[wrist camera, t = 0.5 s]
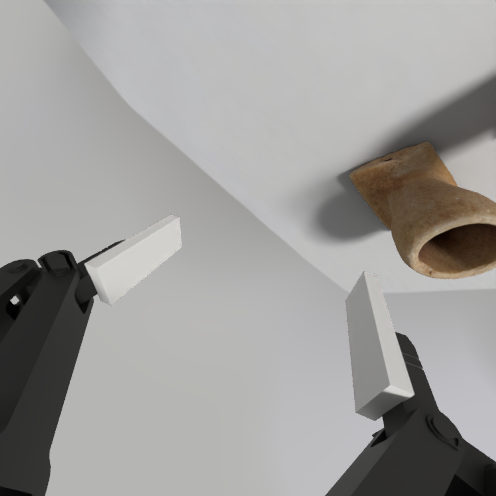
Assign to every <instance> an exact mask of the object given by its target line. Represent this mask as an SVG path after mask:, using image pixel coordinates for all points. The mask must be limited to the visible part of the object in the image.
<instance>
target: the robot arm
mask: <svg viewBox="0 0 496 496" xmlns="http://www.w3.org/2000/svg"><path fill="white" fill-rule="evenodd" d="M181 247H182V242H181V229H180V218H179V217H178V216H175V215H169V216H167V217H165V218H164V219H162V220H160V221H158V222H157V223H155V224H153V225H151V226H150V227H148V228H146V229H144V230H143V231H141V232H139V233H137V234H136V235H134V236H132V237H130V238H129V239H127V240H122V241H119V242H116V243H114V244H112V245H110V246H108V248H105V249H103V250H102V251H100V252H98V253H96V254H94V255H92V256H90V257H88V258H87V259H85V260H83V261H81V262H79V263H78V264H77V263H76V261H75V259H74V256H73V255H72V253H71V252H70V251H66V250H58V251H53V252H50V253H47V254H45V255H43V256H41V257H40V258H39V259H38V262H39V263H40V265H41V267H42V268H39V267H38V265H37V264H36V262H35V261H34V260H30V259H24V260H18V261H13V262H11V263H8V264H7V265H5V266H3V267H1V268H0V496H45V493H46V490H47V486H48V482H49V477H50V468H51V466H50V459H49V452H50V448H51V444H52V441H53V437H54V434H55V431H56V427H57V424H58V421H59V417H60V414H61V410H62V407H63V404H64V400H65V397H66V393H67V390H68V386H69V384H70V380H71V377H72V373H73V370H74V367H75V363H76V360H77V357H78V353H79V349H80V346H81V343H82V340H83V336H84V333H85V330H86V326H87V323H88V320H89V316H90V313H91V309H92V306H93V303H94V299H93V296H95V295H96V294H98V296H99V298H100V300H101V301H102V302H105V303H107V304H109V305H113V304H114V303H115V302H116V301H117V300H119V298H121V297H122V296H123V295H125V294H126V293H127V292H128V291H129V290H131V289H132V288H133V287H134V286H135V285H137V284H138V283H139V282H140V281H142V280H143V279H144V278H145V277H146V276H148V275H149V274H150V273H151V272H152V271H154V270H155V269H156V268H157V267H158V266H160V265H161V264H162V263H163V262H164V261H166V260H167V259H168V258H169V257H170V256H172V255H173V254H174V253H175V252H176V251H178V250H179V249H180V248H181ZM14 296H16V297H17V298H18V299H19V302H18V303H17V304H15V305H14V304H12V302H11V301H10V300H11V299H12V298H13V297H14ZM346 311H347V322H348V333H349V343H350V355H351V365H352V377H353V388H354V399H355V410H356V413H358V414H360V415H362V416H365V417H367V418H369V419H372V420H374V421H375V420H377V419H379V418H380V417H383V422H384V428H383V429H381V430H380V431H378V432H376V433H374V434H373V435H372V436H373V437H374V438H373V440H372V441H371V442H370V444H368V446H367V447H366V448H365V449H364V450H363V452H362V453H361V454H360V455H359V456H358V457H357V459H356V460H355V461H354V462H353V463H352V465H351V466H350V467H349V468H348V469H347V470H346V472H345V473H344V474H343V475H342V476H341V478H340V479H339V480H338V481H337V482H336V484H335V485H334V486H333V487H332V488H331V489H330V491H329V492H328V493H327V494H326V495H325V496H496V462H495V461H494V460H492V459H491V458H489V457H488V456H486V455H485V454H484V453H482V452H481V451H479V450H478V449H477V448H475V447H474V446H472V445H471V444H469V443H468V442H466V441H465V440H464V439H463V438H462V436H461V434H460V433H459V431H458V430H457V428H456V426H455V425H454V424H453V423H452V422H451V421H450V420H449V418H448V417H446V416H445V415H444V414H443V413H441V412H440V411H439V409H438V407H437V404H436V402H435V399H434V396H433V394H432V391H431V388H430V386H429V383H428V381H427V378H426V375H425V373H424V371H423V370H422V365H421V362H420V361H419V357H418V355H417V352H416V349H415V347H414V345H413V344H412V343H411V341H410V340H409V339H408V337H407V336H406V335H402V334H400V333H397V332H395V331H394V327H393V325H392V321H391V318H390V315H389V312H388V308H387V305H386V302H385V299H384V296H383V293H382V289H381V286H380V283H379V280H378V277H377V275H375V274H372V273H368V272H365V271H363V273H362V275H361V276H360V278H359V280H358V281H357V283H356V285H355V286H354V288H353V290H352V291H351V293H350V295H349V296H348V298H347V299H346Z"/></svg>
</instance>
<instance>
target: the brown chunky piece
mask: <svg viewBox="0 0 496 496" xmlns="http://www.w3.org/2000/svg"><path fill="white" fill-rule="evenodd" d="M349 176H350V179H351V180H352V182H353V184H354V185H355V186H356V188H357V190H358V191H359V193H360V194H361V195H362V196H363V198H364V199H365V201H367V203H368V204H369V206H370V207H371V209H372V210H373V211H374V213H375V214H376V215H377V217H378V218H379V219H380V220H381V221H382V222H383V223H384V224H385V225H386V226H387V227H388V228H389V229H390V230H391V232H392V237H393V240H394V242H395V245H396V248H397V250H398V252H399V254H400V256H401V258H402V260H403V261H404V262H405V263H406V264H407V265H408V266H409V267H410V268H412V269H413V270H414V271H416V272H418V273H420V274H422V275H425V276H428V277H432V278H440V279H458V278H464V277H469V276H475V275H478V274H481V273H484V272H487V271H489V270H492V269H494V268H496V203H495V202H493V201H492V200H490V199H489V198H487V197H485V196H483V195H481V194H479V193H476V192H473V191H470V190H466V189H463V188H460V187H458V186H457V184H456V182H455V180H454V178H453V177H452V175H451V174H450V172H449V171H448V169H447V168H446V166H445V165H444V163H443V162H442V160H441V159H440V158H439V156H438V155H437V153H436V151H435V149H434V147H433V146H432V145H431V144H430V143H429V142H423V143H420V144H419V145H416V146H412V147H407V148H404V149H402V150H399V151H396V152H394V153H390V154H388V155H386V156H384V157H382V158H378V159H375V160H373V161H371V162H369V163H367V164H365V165H362V166H361V167H359V168H358V169H356V170H354V171H352V172H351V173H350V174H349Z"/></svg>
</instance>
